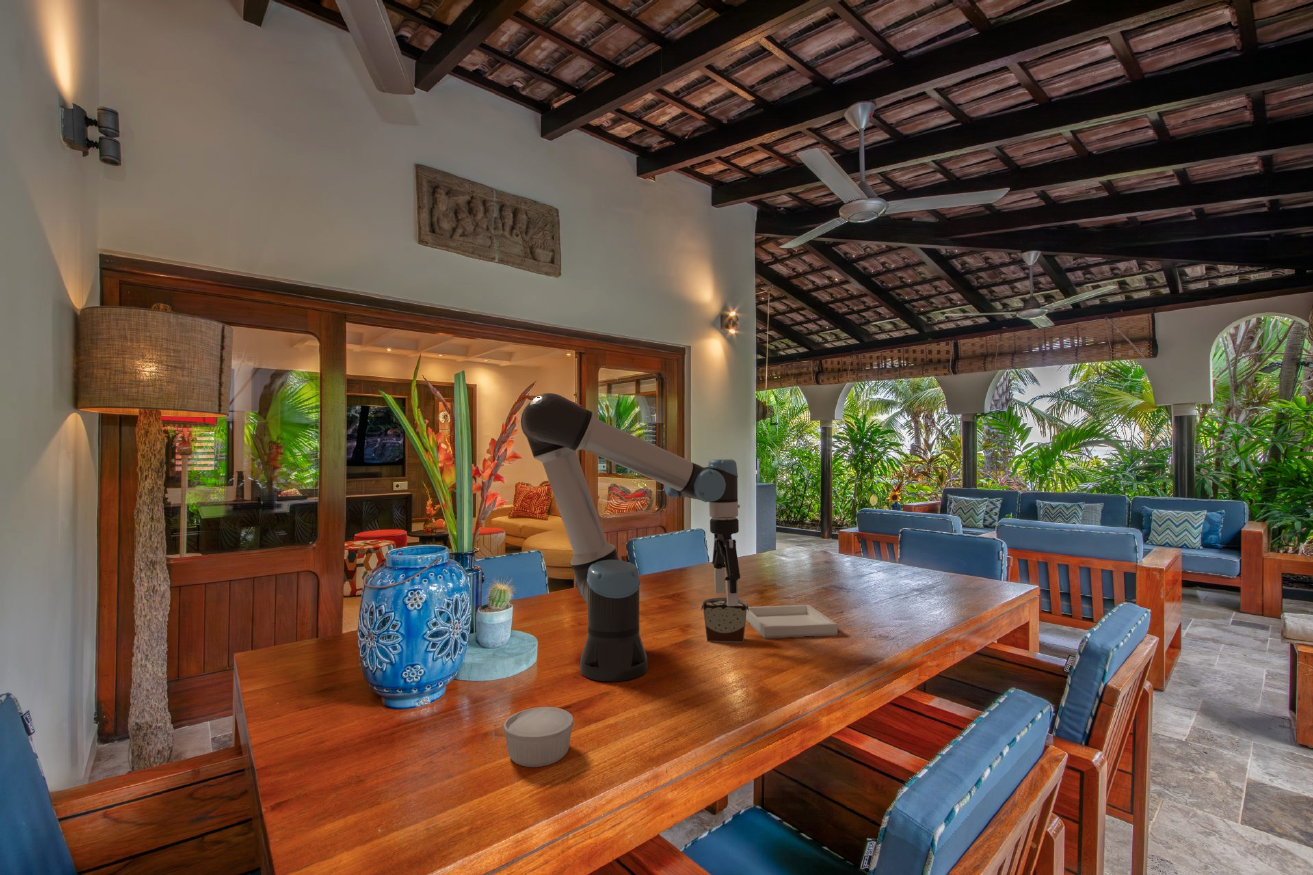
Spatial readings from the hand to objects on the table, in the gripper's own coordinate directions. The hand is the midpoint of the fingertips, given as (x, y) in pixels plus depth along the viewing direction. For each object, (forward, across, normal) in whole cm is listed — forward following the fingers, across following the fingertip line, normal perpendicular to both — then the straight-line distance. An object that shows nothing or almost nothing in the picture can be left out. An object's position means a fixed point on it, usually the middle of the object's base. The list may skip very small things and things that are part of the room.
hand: (726, 598), depth 154 cm
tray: (+10, +8, -19) cm, 23 cm away
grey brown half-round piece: (+10, 0, +1) cm, 10 cm away
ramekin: (+10, -53, +45) cm, 70 cm away
